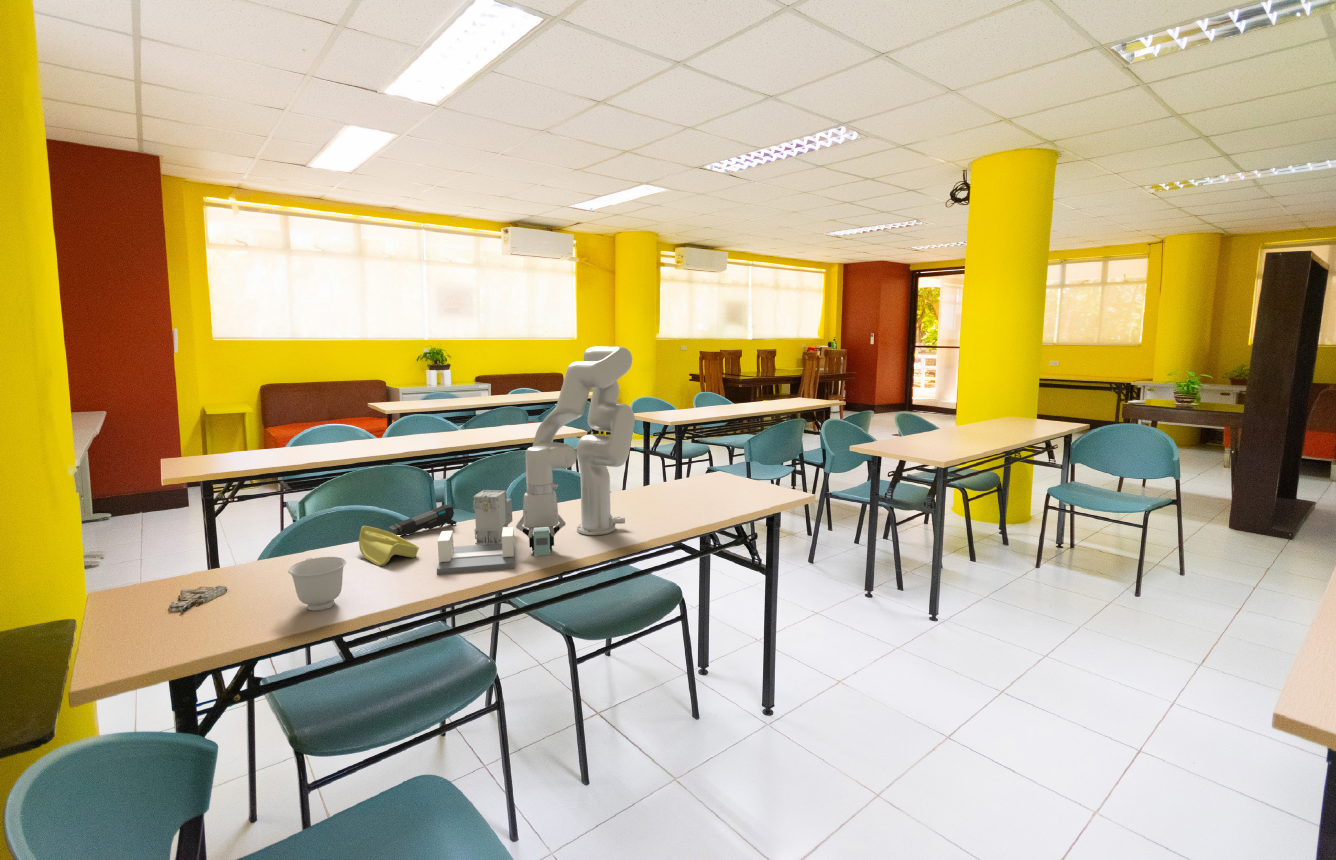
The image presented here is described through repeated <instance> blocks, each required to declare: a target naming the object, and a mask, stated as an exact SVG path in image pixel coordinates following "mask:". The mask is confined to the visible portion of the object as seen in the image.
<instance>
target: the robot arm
mask: <svg viewBox="0 0 1336 860" xmlns="http://www.w3.org/2000/svg"><path fill="white" fill-rule="evenodd" d="M632 365H633V356H632V353H631V351H630V350H629V349H628V348H626V347H623V346H604V345H603V346H591V347H589V348H587V349H586V350H585V351H584V352H583V360H582V361H580V360H578V361H574V362H573V361H572V363H570V364H569V365H568V367H567V369H566V372H565V374H564V375H565V376H564V379H563V381H562V382H563V383H562V386H561V389H560V392H559V395H558V399H557V403H556V406H555V408H554V409H553V410H552V411H550V413H549V414H548V415H547V416H545V418H544V419H543V420H542V422H541V423H540V424H539V426H538V428H537V429H536V431H535V432H536V433H535V436H534V439H533V442H532V446H530V447H528V448H527V449H526V450H525V473H526V474H525V475H526V477H525V481H526V482H525V483H526V492H525V493H524V495H523V499H522V500H523V501H522V517H521V518H520V520H519V521H518V522H517V524H516V526H515V527H516V530H519V531H520V532H522V533H523V534H525V536H527V537H528V543H529V544H528V545H529V548H531V550H532V551H531V552H534V532H533V530H534V529H538V528H549V534H550V551H552V550H553V546H555V536H556V534H557V533H558V532H559V531H560V530H561V529H562V528H564V527H565V526H566V524H567V523H566V521H565V520H564V519H563V517H562V516H561V515H560V514H559V505H558V498H557V493H556V489H559V485H558V483H554V482H553V481H554V480H553V470H563V469H569V468H570V467H572V466H573V465H574V464H575V463H576V461H577V460H578V464H579V465H578V466H579V474H580V475H579V476H580V507H581V510H580V514H581V519H580V520H581V523H580V524H578V525H577V526H576V531H577V532H578V533H579V534H582V535H585V536H603V535H607V534H611V533H613V532H614V531H615V530H616V525H617V524H619V525H621V524H622V525H623V524H626V517H621V516H612V513H611V477H610V472H609V469H608V467H612V468H619V467H621V466H623V465H624V464H625V463H626V462H627V460H628V459H629V453H630V450H631V446H632V445H631V444H632V439H633V435H634V429H635V422H636V421H635V420H636V419H635V417H636V416H635V412H634V410H633V409H632V407H631V406H630V405H629V404H626V403H619V402H618V401H619V395H620V394H619V393H620V385H619V382H618V380H619V379H621V378H622V377H624V376H625V375H626V374H627V373H628V372H629V370H630V369H631V368H632ZM591 390H592V394H591V399H590V404H589V410H588V415H587V425H588V427H589V428H590V429H592V430H595V431H598V432H606V433H610V435H604V434H603V435H602V434H593V433H592V434H585V435H583V436H582V437H581V438H580V439H578V442H577V444H576V448H575V447H574V446H573V445H571V444H568V443H562V442H557V441H554V438H555V437H556V434H557V433H558V431H559V430H561V428H562V427H563V426H565V425H567V424H569V423H571V422H572V421H574V420H577V419H579V418H580V417H582V416H583V415H584V413H585V408H586V407H587V406H586V405H587V402H588V398H589V395H590V392H591Z"/></svg>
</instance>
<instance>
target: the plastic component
mask: <svg viewBox="0 0 1336 860" xmlns="http://www.w3.org/2000/svg"><path fill="white" fill-rule="evenodd" d="M358 547H359V550H360V551H359V552H360V553H361V555H362V557H364V558H365V560H368V561H369V562H371V563H373V564H375V566H379V567H382V566H385V565H386V564H388V562H389V561H390V559H391V558H392V557H393V556H394V555H397V556H403V557H407V558H410V559H411V558H416V556H417V554H418V551H419V549H420V547H419V546H418V545H416V544H415V543H412V542H411V541H409V540H407V539H404V538H402V537H401V536H400V537H399V536H397V535H395V534H393V533H392V532H390V531H388V530H384V529H381V528H378V527H373V526H367V525H362V526H361V528H360V531H359V537H358Z"/></svg>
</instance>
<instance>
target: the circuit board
mask: <svg viewBox="0 0 1336 860" xmlns="http://www.w3.org/2000/svg"><path fill="white" fill-rule="evenodd" d="M227 592H228V586H225V585H217V586H215V587H213V586H198V587H197V588H195V589H194V588H193V589H191V588H185V589H181V590H180V593H179V595H178V597H177V601H171V604H169V607H168V609H169V611H170V612H180V614H183V613H184V612H185V611H186V610H187V609H189V608H190V607H191V606H193V605H194V604H197V605H196V607H198V605H199V606H201V605H203V604H205V603H209V602H210V601H212V600H215V599H216V598H217V597H221V596H222V595H223V594H226V593H227Z"/></svg>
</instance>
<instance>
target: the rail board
mask: <svg viewBox="0 0 1336 860" xmlns="http://www.w3.org/2000/svg"><path fill="white" fill-rule="evenodd" d="M453 532H454V531H453V530H442V531H441V532H440V535H439V536H438V539H437V550H438V551H437V552H438V553H437V555H438V565H437V567H436V575H444V574H446V575H447V574H458V573H469V572H471V573H472V572H481V571H483V572H484V571H495V570H494V569H497V570H507V569H514V568H515V567H514V566H515V548H516V547H515V538H514V537H515V536H514V535H515V534H514V526H508V527H503V530H502V542H501V543H498V544H474V545H472V544H471V545H459V546H454V533H453Z"/></svg>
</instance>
